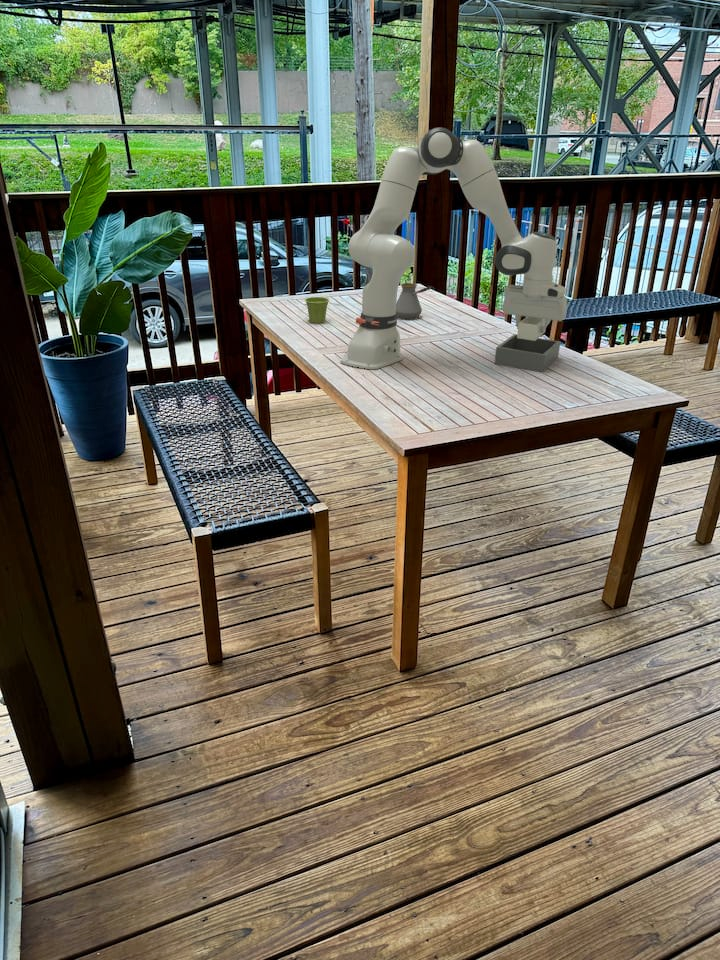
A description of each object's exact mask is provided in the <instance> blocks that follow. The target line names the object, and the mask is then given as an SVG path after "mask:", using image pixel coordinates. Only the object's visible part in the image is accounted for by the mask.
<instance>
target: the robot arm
mask: <svg viewBox="0 0 720 960" xmlns="http://www.w3.org/2000/svg"><path fill="white" fill-rule="evenodd" d="M445 170H448V171H450V172H452V173H453V174H454V176H456V178H457V181H458V183H459V185H460V188H461V190H462V193H463V194H464V197H465V198H466V200H467V202H468V203H469V204H470V206H471V207H472V208H473V209H475V210H476V211H479V212H481V213H482V214H484V215H485V216H486V217H487V218H488V219H489V220H490V222H491V224H492V226H493V228H494V230H495V232H496V235H497V237H498V239H499V240H500V244H501V247H500V249H499V250H498V251H497V252H496V254H495V258H494V264H495V268H496V269H497V270H498V272H499V273H501V274H502V275H505V276H516V275H523V279H522V281H523V282H522V285H519V284H516V285H515V284H509V285H506V287H505V288H504V291H503V297H504V299H503V303H502V307H501V312H502V313H503V314H505V315H511V316H514V320H515V322H516V324H517V327H516V329H517V330H518V326H519V322H521V321H522V320H521V318H522V317H525V318H526V317H533V318H540V319H545V325H544V326H541V327H540V332H541V333H543V334H545V333H546V330H547V329H546V328H547V327H548V325H549V324H550V323H551V321H557V322H562V321H563V320H565V318H566V317H567V311H568V299H567V297H566V296H565V294H566V292H567V288H566V287H565V286H563V285H561V284H558V283H556V282H554V281H553V280H554V277H553V270H554V267H555V265H556V258H557V257H556V256H557V240H556V239H555V237H554V236H553V235H552V234H549V233H547V232H541V231H534V232H532V233H531V234H529V235H527V236H526V237H525V236H524V235H522V233H521V232H520V230H519V228H518V227H517V223H516V222H515V220H514V218H513V215H512V213H511V211H510V209H509V207H508V205H507V201H506V199H505V195H504V192H503V189H502V185H501V182H500V179H499V176H498V173H497V171H496V169H495V166H494V163H493V161H492V160H491V158H490V155H488V153H487V151H486V149H485V147H484V146H483V144H482V143H481V142H480V141H478V140H477V139H468V140H465V141H463V140H462V139H461V138H460V137H459V136H457V135H456V134H454V133H453V132H452V131H450V129H448V128H445V127H434V128H432V129H429V131H427V132H426V133H425V134H424V135H423V138H422V139H421V140H420V142H419V143H418V144H417V146H416V147H413V148H411V147H408V146H399V147H396V148H395V149H394V150H393V151H392V152H391V154H390V156H389V158H388V160H387V163H386V165H385V167H384V171H383V173H382V176H381V180H380V184H379V188H378V192H377V195H376V198H375V200H374V205H373V208H372V210H371V212H370V214H369V216H368V218H367V219H366V221H365V223H364V224H363V225H362V227H361V228H359V230H358V231H356V232H355V233H354V234H353V235H352V236H351V238H350V239H349V242H348V247H347V248H348V249H347V250H348V254H349V256H350V257H351V259H352V260H353V261H354V262H356V263H358V264H359V265H361V266H363V267H367V268H371V269H372V275H371V278H370V281H369V282H368V283H367V284H365V286H364V287H363V288H362V298H361V299H362V301H361V303H362V306H361V307H362V308H361V310H362V311H361V313H360V316H359V317H356V318H355V323H356V324H358V328H357V329H356V331H355V333H354V334H353V336H352V338H351V339H350V340H349V342H348V346H347V353H346V354H345V355H344V356H343V357H342V358H341V359H340V360H339V361H340V362H339V363H340V364H342V363H343V365H344V366H345V365H346V366H348V365H349V366H348V367H352V366H353V368H357V367H359V369H364V368H365V370H378V369H381V368H384V367H386V366H389V365H392V364H394V363H397V362H400V361H402V360H404V355H403V354H401V334H400V332H399V330H398V329H397V325H398V316H397V313H396V303H397V301H398V299H397V298H398V291H399V285H400V282H401V280H402V278H403V276H404V274H405V272H407V271H408V270H410V268H411V267H412V265H413V263H414V261H415V255H416V252H415V248H414V245H413V244H412V242H411V241H410V240H408V239H406V238H404V237H402V236H400V235H398V234H397V235H395V234H394V233H395V232H396V230H397V229H398V227H399V226H400V225H402V223H404V222H405V221H407V220H408V218H409V216H410V213H411V209H412V207H413V202H414V198H415V196H416V192H417V189H418V188H417V187H418V185H419V181H420V178H421V176H425V175H426V176H429V175H431V176H433V175H438V174H439V175H440V174H441V173H442V172H444V171H445Z"/></svg>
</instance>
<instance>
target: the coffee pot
mask: <svg viewBox="0 0 720 960" xmlns="http://www.w3.org/2000/svg"><path fill="white" fill-rule="evenodd" d="M400 286H401V288H402V290H401V292H400V295H399V296H398V299H397V301H396V313H397V318H399V319H402V318H403V320H413V319H412V318H415V319H417V318H418V317H419V316H420V315H421V314H422V312H423V309H422V306H421V302H420V300H419V298H418V294H421V293H423V292H427V291H430V292H432V293H433V292H434V290H432V289H433V286H432V285H431V286H427V287H424V288H421V289H419V290H417V291H416V288H417V287H418V285H417V283H412V282H409V283H408V282H406V283H401V284H400ZM430 289H431V290H432V291H431V290H430ZM416 317H417V318H416Z"/></svg>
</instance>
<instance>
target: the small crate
mask: <svg viewBox="0 0 720 960" xmlns="http://www.w3.org/2000/svg"><path fill="white" fill-rule="evenodd" d="M520 321H521V322H519V326H518V325H517V326H518V329H517V334H516V335H517V338H520V339H526V340H533V341H536V340H537V339H538V338H541V337H542V335H544V333H541V332H540V327H541V326H544V325H545V324H546V323H545V319H540V318H533V317H525V318H523V319H522V320H520Z"/></svg>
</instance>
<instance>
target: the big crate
mask: <svg viewBox="0 0 720 960" xmlns="http://www.w3.org/2000/svg"><path fill="white" fill-rule="evenodd" d="M560 347H561V341H560V340H552V339H547V338H541V337H539V338H538V339H537V340H536V341H533V340H526V339H520V338H517V334H513V335H511V336H510V337H508V338H507V339H506V340H504V341H503V342H501V343H500V344H499V345H498V346H496V349H495V355H494V356H495V358H494V365H498V366H503V367H508V368H512V369H514V368H515V369H521V370H525V371H531V372H537V373H542V372H543V373H544V372H545V371H546V370H547V369H548V368H549V367H551V365H553V364H554V363H555V362H556V361H557V360H558V359H559V354H560Z"/></svg>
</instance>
